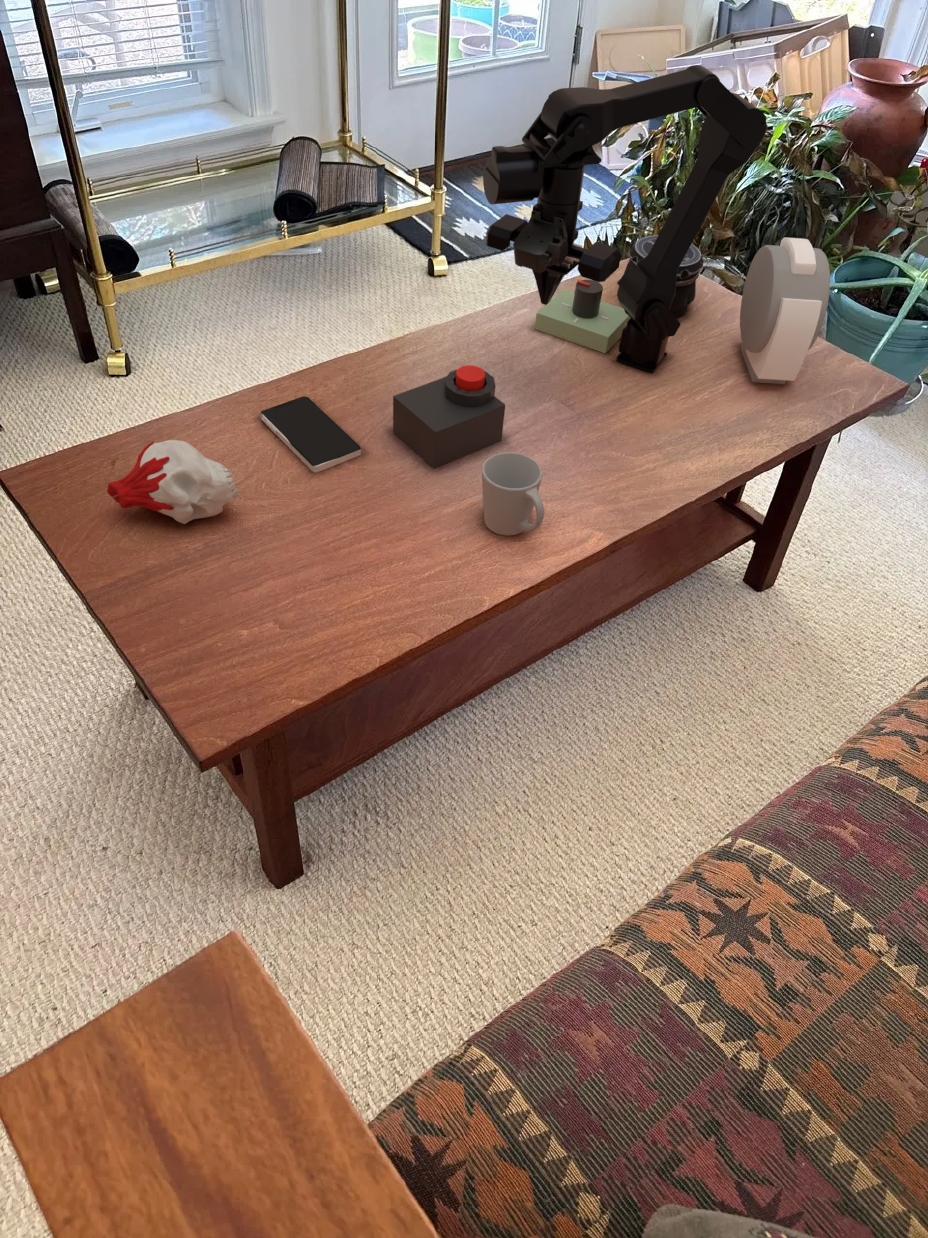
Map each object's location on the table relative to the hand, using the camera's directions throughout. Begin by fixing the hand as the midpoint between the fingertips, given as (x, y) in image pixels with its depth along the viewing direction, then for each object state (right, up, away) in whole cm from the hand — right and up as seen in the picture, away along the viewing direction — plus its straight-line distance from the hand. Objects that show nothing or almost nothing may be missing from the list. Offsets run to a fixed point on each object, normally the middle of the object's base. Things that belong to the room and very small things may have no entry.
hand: (545, 303), depth 139 cm
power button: (-11, -14, -8) cm, 19 cm away
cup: (-6, -35, -16) cm, 39 cm away
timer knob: (+8, +4, +17) cm, 19 cm away
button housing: (-14, -20, -4) cm, 25 cm away
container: (+21, +8, +26) cm, 35 cm away
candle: (-49, -32, -17) cm, 61 cm away
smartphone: (-34, -21, -5) cm, 40 cm away
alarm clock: (+36, -5, +15) cm, 40 cm away
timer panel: (+8, +2, +19) cm, 21 cm away
